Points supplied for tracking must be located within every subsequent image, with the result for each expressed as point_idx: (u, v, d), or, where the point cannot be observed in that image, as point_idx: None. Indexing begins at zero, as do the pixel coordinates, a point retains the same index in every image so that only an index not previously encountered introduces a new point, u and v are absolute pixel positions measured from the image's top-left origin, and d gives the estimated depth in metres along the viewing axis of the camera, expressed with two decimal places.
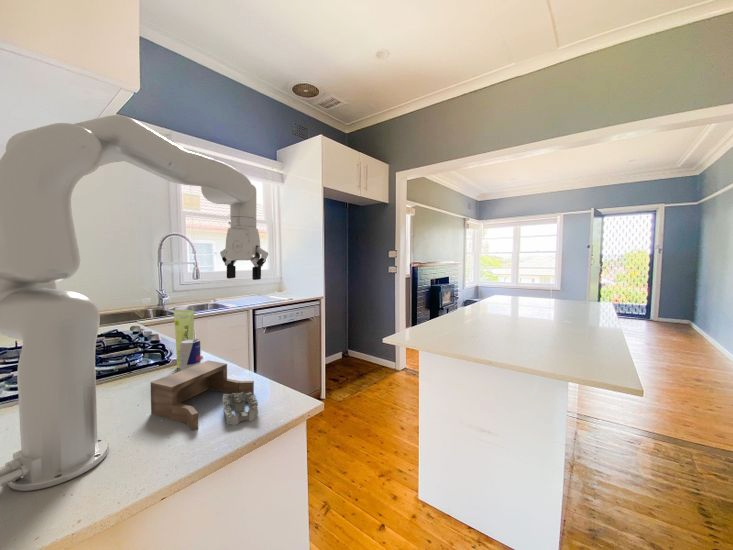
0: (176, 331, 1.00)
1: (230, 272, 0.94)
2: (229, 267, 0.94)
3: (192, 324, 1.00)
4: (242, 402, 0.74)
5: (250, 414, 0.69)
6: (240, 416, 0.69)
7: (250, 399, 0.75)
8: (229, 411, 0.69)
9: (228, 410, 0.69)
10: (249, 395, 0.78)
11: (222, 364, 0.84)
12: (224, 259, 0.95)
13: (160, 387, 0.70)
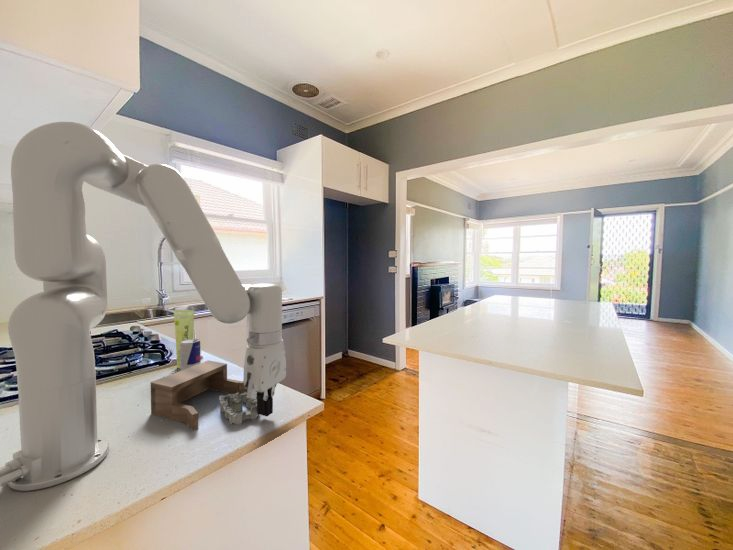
0: (176, 331, 1.00)
1: None
2: None
3: (192, 324, 1.00)
4: (241, 402, 0.74)
5: (253, 412, 0.70)
6: (243, 415, 0.69)
7: (248, 399, 0.75)
8: (231, 411, 0.69)
9: (230, 410, 0.69)
10: (245, 395, 0.78)
11: (222, 364, 0.84)
12: (261, 393, 0.68)
13: (160, 387, 0.70)
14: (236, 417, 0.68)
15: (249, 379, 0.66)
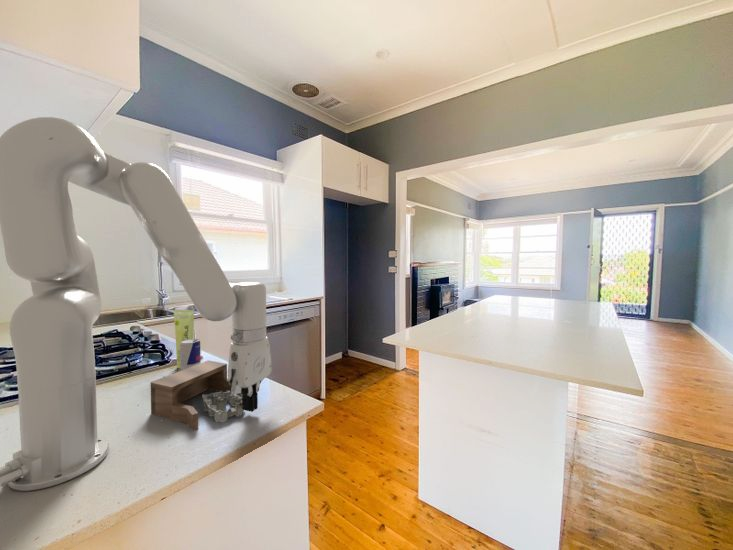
0: (176, 331, 1.00)
1: None
2: None
3: (192, 324, 1.00)
4: (225, 400, 0.75)
5: (238, 409, 0.71)
6: (228, 412, 0.71)
7: (232, 396, 0.76)
8: (216, 409, 0.70)
9: (215, 408, 0.70)
10: (228, 393, 0.78)
11: (222, 364, 0.84)
12: (245, 389, 0.69)
13: (160, 387, 0.70)
14: (221, 414, 0.69)
15: (233, 375, 0.67)
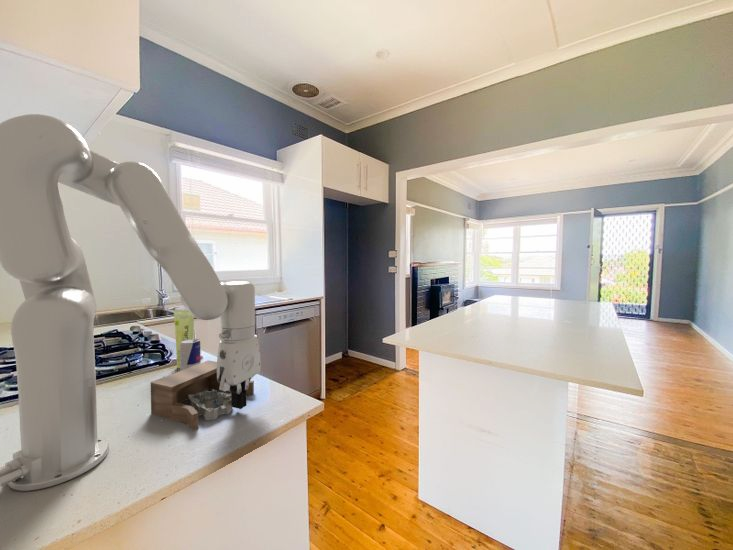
0: (176, 331, 1.00)
1: None
2: None
3: (192, 324, 1.00)
4: (212, 398, 0.75)
5: (228, 406, 0.72)
6: (218, 410, 0.71)
7: (219, 395, 0.77)
8: (205, 407, 0.70)
9: (204, 407, 0.70)
10: (214, 392, 0.79)
11: None
12: (234, 387, 0.70)
13: (160, 387, 0.70)
14: (212, 412, 0.70)
15: (222, 373, 0.68)
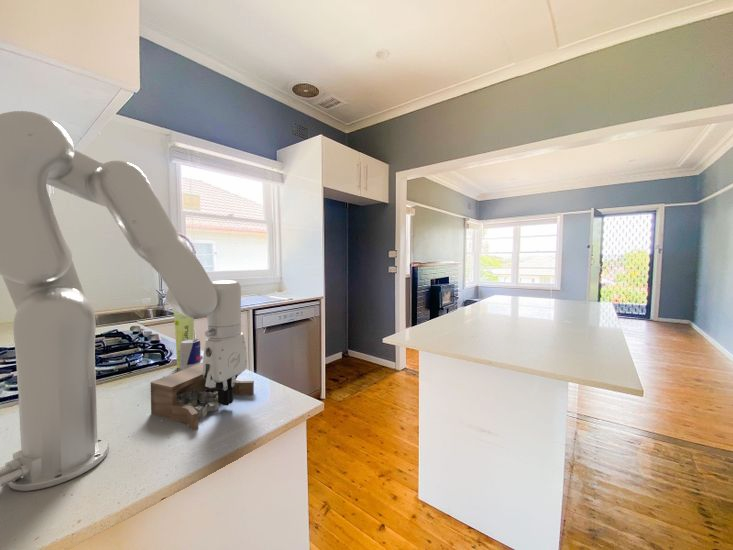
0: (176, 331, 1.00)
1: None
2: None
3: (192, 324, 1.00)
4: (196, 398, 0.75)
5: (215, 403, 0.74)
6: (205, 408, 0.72)
7: (202, 394, 0.77)
8: (193, 406, 0.71)
9: None
10: (195, 392, 0.79)
11: None
12: (220, 384, 0.72)
13: (160, 387, 0.70)
14: (201, 410, 0.71)
15: (208, 370, 0.70)
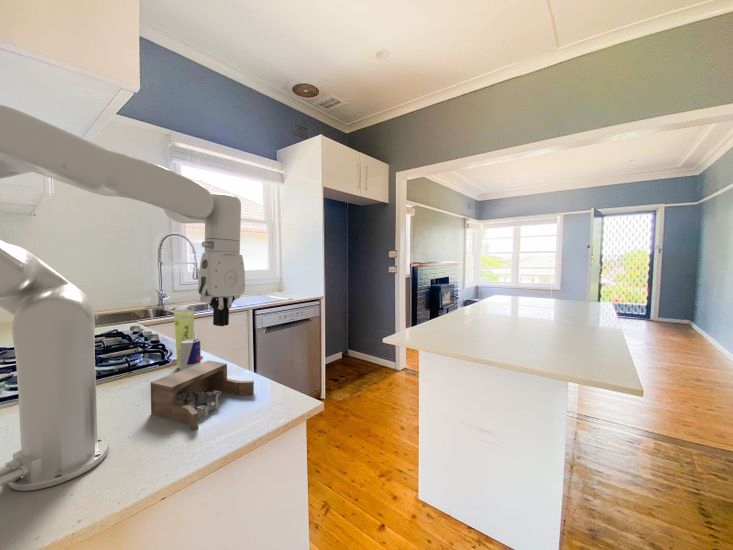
0: (176, 331, 1.00)
1: None
2: None
3: (192, 324, 1.00)
4: (195, 398, 0.75)
5: (216, 402, 0.74)
6: None
7: (199, 394, 0.77)
8: (194, 406, 0.71)
9: (193, 406, 0.71)
10: (191, 393, 0.78)
11: (222, 364, 0.84)
12: (216, 301, 0.68)
13: (160, 387, 0.70)
14: (203, 409, 0.71)
15: (203, 284, 0.67)
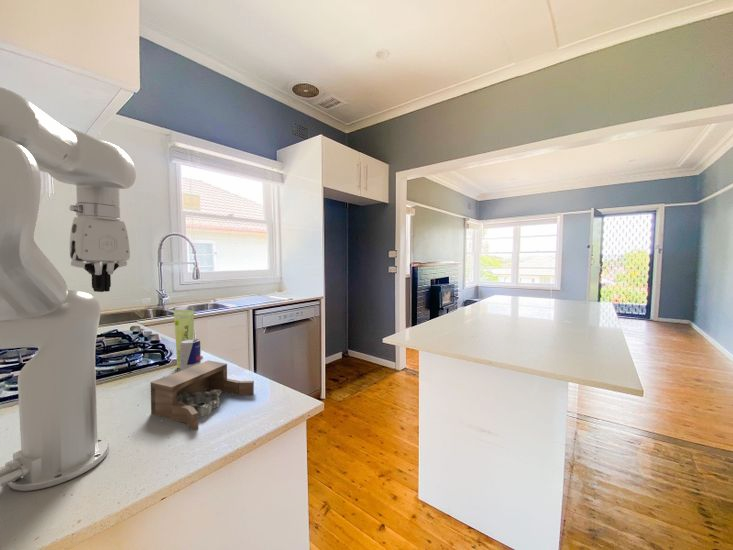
0: (176, 331, 1.00)
1: None
2: None
3: (192, 324, 1.00)
4: (194, 398, 0.75)
5: (217, 401, 0.75)
6: None
7: (196, 395, 0.77)
8: (197, 406, 0.71)
9: (196, 405, 0.71)
10: (187, 394, 0.77)
11: (222, 364, 0.84)
12: (91, 266, 0.68)
13: (160, 387, 0.70)
14: (207, 408, 0.72)
15: (75, 248, 0.66)
